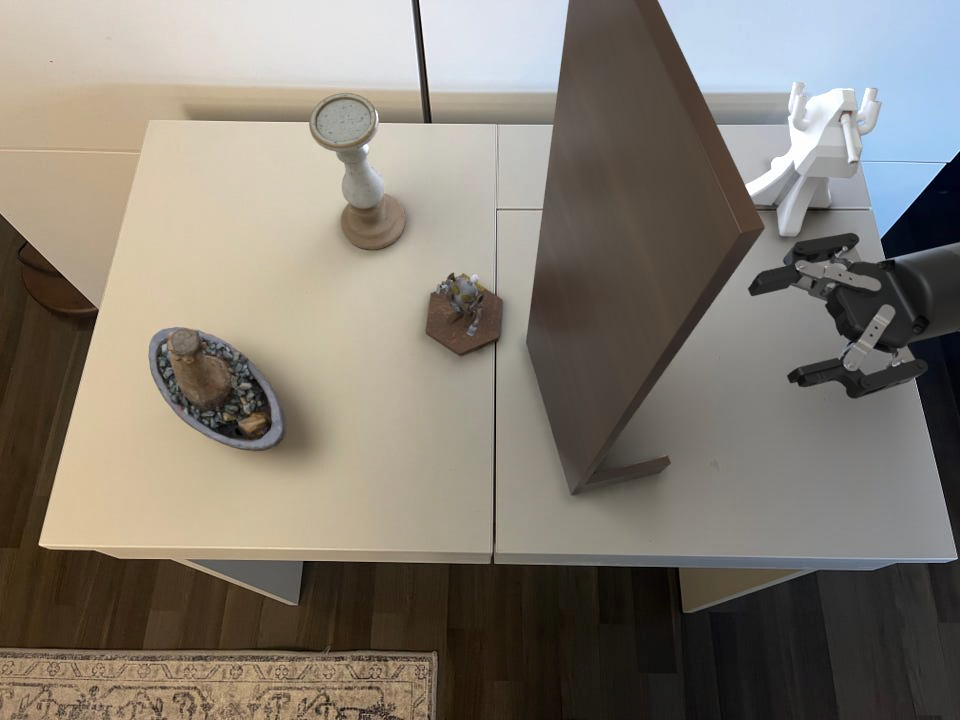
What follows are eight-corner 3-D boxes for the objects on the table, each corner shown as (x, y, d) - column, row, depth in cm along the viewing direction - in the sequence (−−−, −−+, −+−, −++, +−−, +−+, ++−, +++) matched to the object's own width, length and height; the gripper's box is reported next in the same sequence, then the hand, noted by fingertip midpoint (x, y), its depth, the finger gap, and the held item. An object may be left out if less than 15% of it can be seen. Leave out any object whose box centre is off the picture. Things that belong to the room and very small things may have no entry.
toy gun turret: (744, 241, 88) (803, 153, 72) (736, 160, 93) (790, 60, 76) (834, 245, 88) (915, 158, 71) (822, 164, 93) (895, 64, 76)
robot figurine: (407, 321, 85) (394, 276, 74) (450, 269, 88) (444, 219, 76) (476, 368, 82) (474, 329, 71) (519, 313, 85) (523, 267, 74)
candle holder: (329, 220, 91) (286, 116, 72) (379, 185, 93) (350, 74, 74) (367, 262, 88) (334, 165, 69) (418, 225, 90) (399, 121, 71)
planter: (302, 465, 78) (243, 418, 60) (162, 468, 78) (60, 422, 60) (312, 350, 84) (260, 274, 65) (181, 353, 84) (92, 278, 65)
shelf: (608, 322, 84) (797, -154, 32) (660, 472, 77) (1012, 172, 25) (525, 341, 84) (582, -115, 31) (570, 495, 76) (740, 233, 24)
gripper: (931, 198, 57) (755, 238, 55) (1021, 345, 51) (828, 393, 50) (883, 244, 63) (725, 281, 62) (957, 378, 58) (787, 421, 57)
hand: (771, 331), depth 56 cm, fingers open, 8 cm apart
